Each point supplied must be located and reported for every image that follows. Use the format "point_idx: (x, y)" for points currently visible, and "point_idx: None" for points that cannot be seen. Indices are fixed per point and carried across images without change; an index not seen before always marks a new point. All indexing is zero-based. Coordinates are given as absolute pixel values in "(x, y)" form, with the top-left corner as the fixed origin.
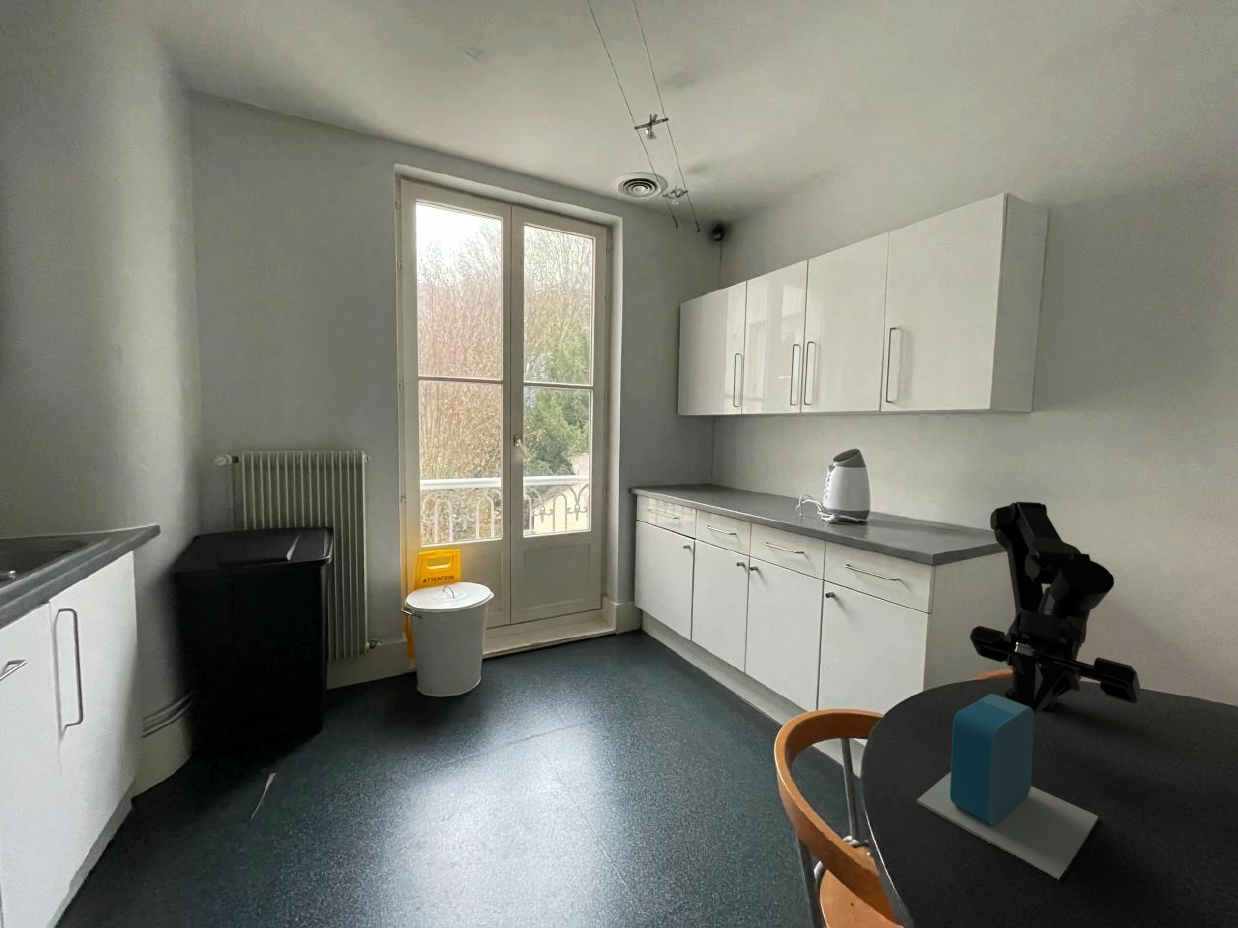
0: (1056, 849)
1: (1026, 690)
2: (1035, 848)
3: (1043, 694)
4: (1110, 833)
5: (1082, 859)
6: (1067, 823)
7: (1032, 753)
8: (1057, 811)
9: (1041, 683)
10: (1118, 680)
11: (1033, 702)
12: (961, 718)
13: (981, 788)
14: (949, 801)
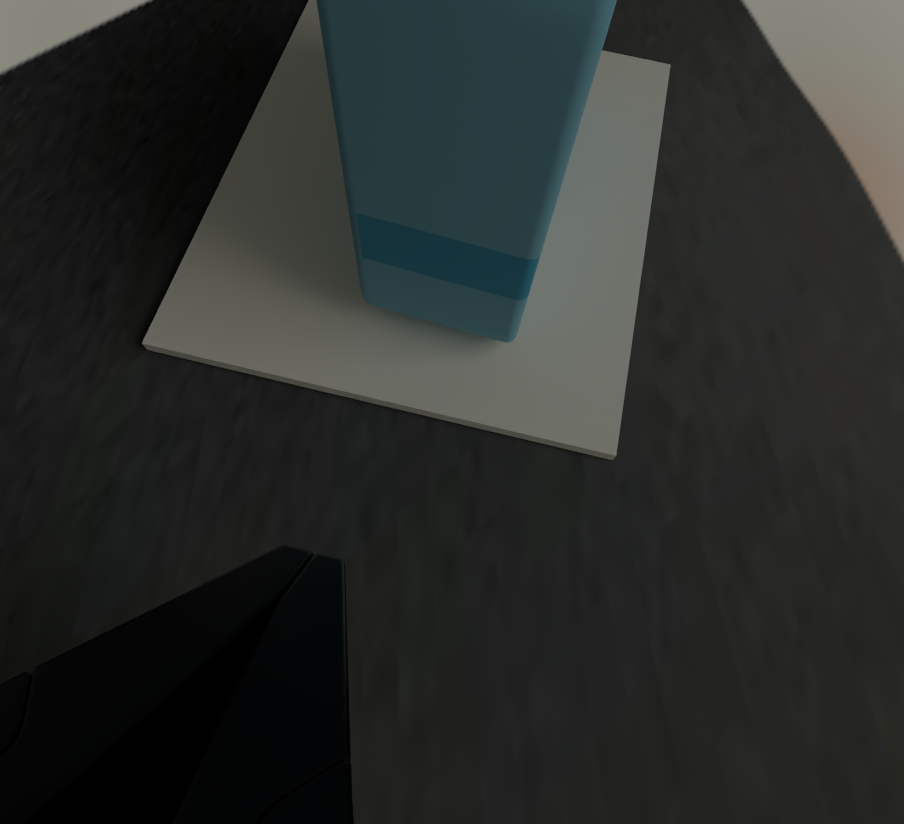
0: (308, 84)
1: (344, 678)
2: None
3: (132, 640)
4: (128, 288)
5: (246, 108)
6: (259, 225)
7: (345, 187)
8: (282, 275)
9: (72, 773)
10: None
11: (285, 579)
12: None
13: None
14: (593, 112)
